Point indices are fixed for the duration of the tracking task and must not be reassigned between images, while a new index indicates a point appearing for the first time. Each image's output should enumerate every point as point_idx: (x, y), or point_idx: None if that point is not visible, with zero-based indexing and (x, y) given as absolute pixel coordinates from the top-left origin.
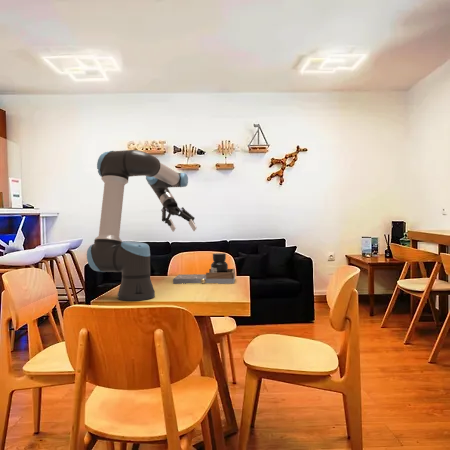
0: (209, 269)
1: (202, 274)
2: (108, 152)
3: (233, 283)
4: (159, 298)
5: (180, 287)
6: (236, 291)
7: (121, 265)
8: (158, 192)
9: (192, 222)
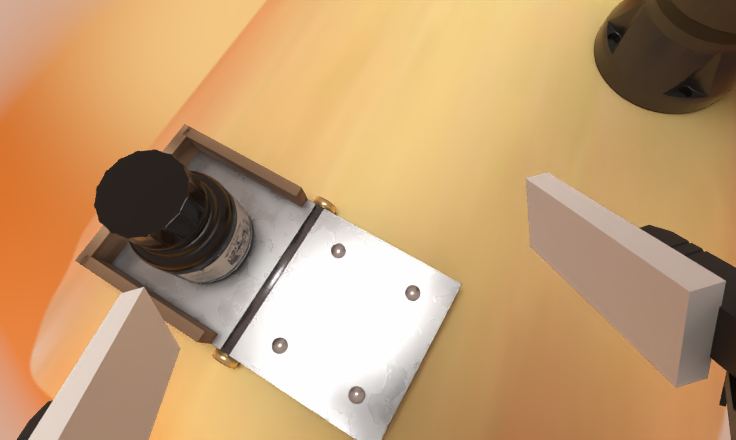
0: (204, 330)
1: (247, 364)
2: None
3: None
4: (581, 14)
5: (454, 173)
6: (296, 9)
7: None
8: None
9: (91, 380)
